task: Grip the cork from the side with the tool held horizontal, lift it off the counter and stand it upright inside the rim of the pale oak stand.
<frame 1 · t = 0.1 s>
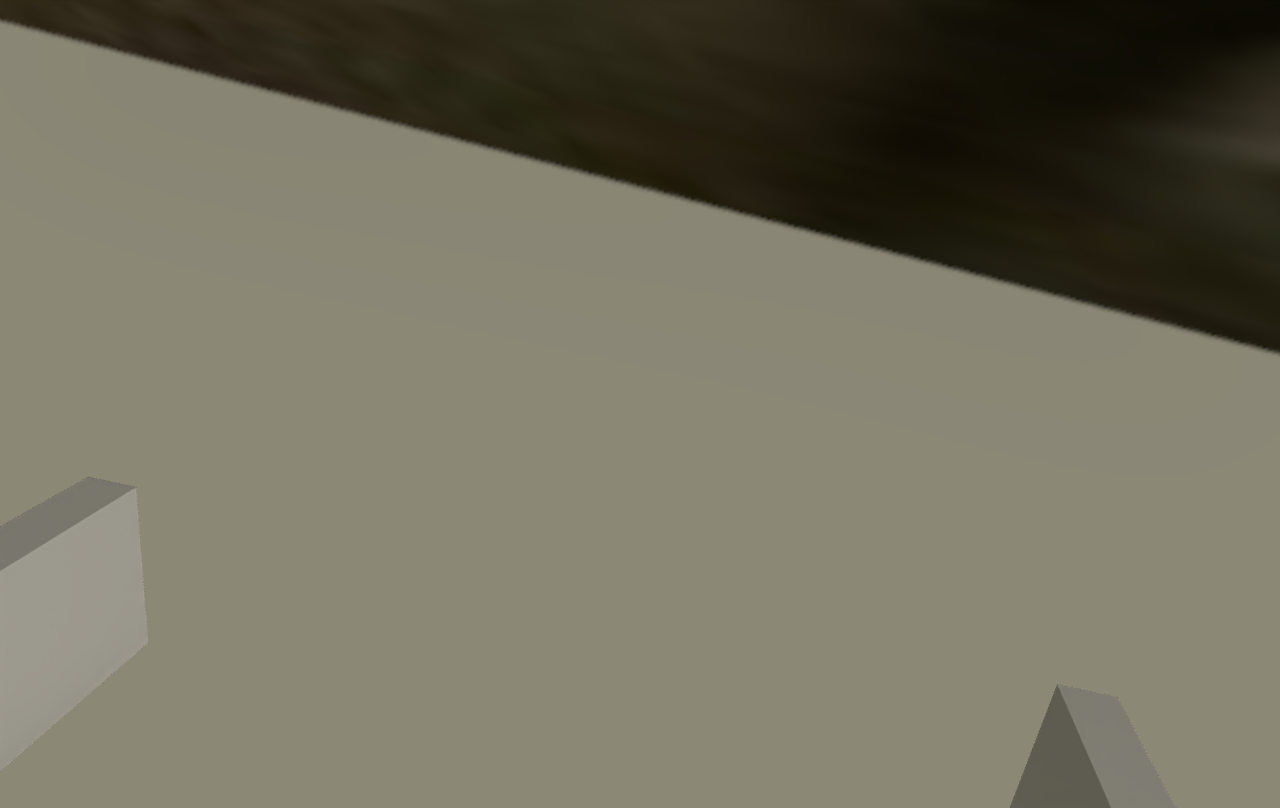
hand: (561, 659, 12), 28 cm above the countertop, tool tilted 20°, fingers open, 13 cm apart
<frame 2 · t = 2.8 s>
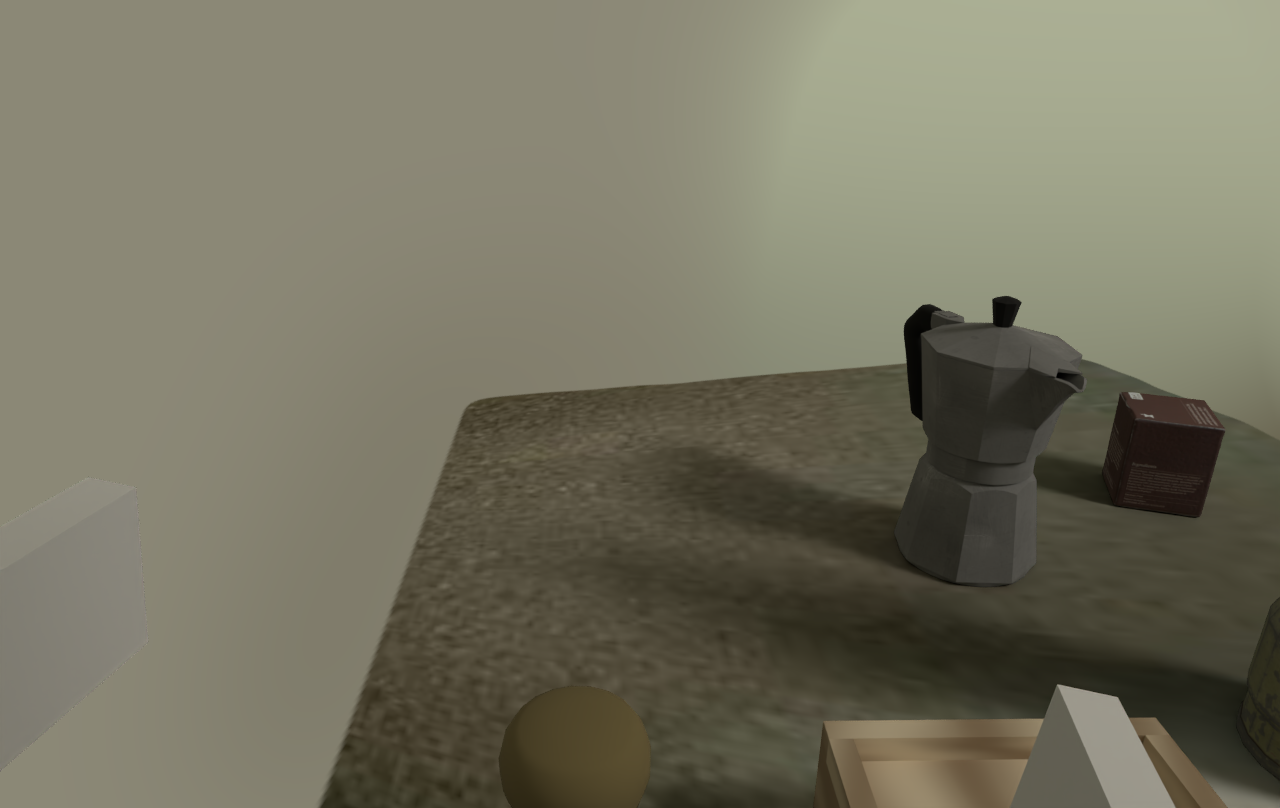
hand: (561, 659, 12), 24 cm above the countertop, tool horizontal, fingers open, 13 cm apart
coffeepot: (951, 545, 62), on the countertop
box: (1147, 497, 69), on the countertop
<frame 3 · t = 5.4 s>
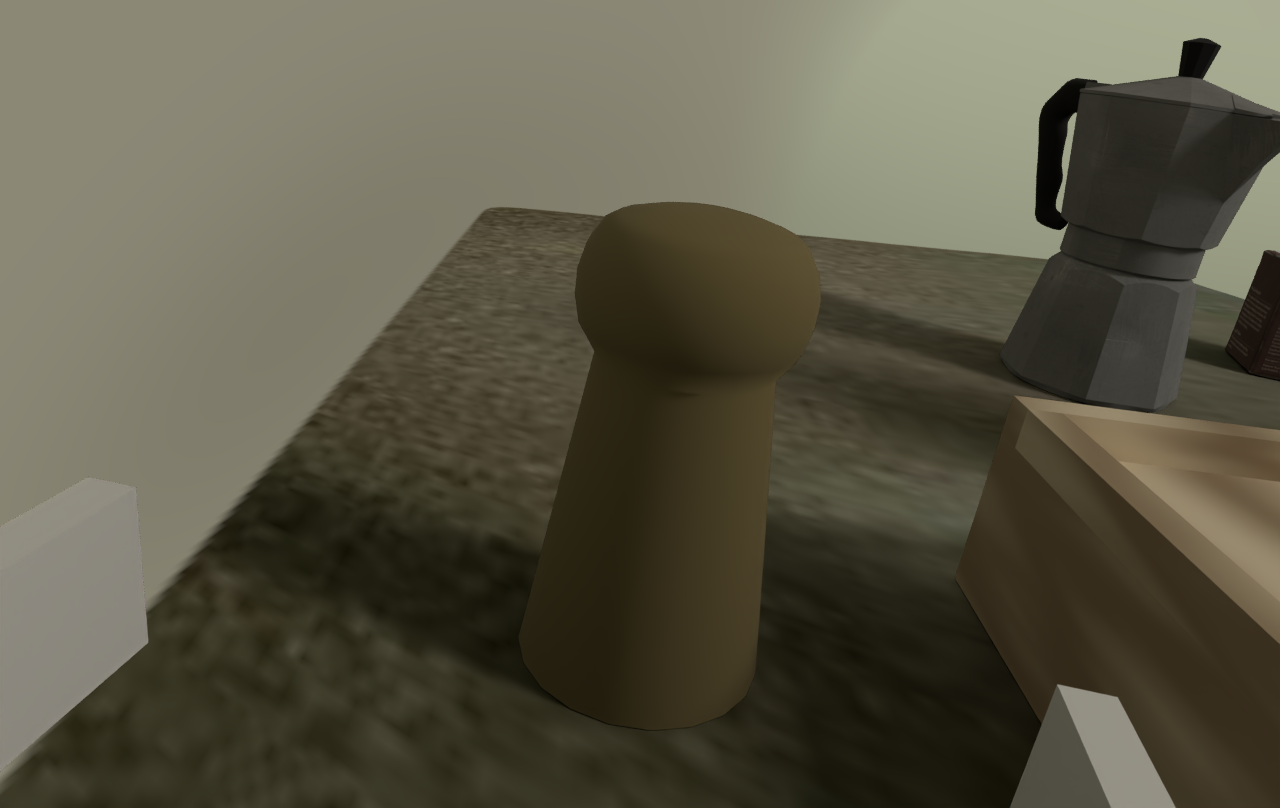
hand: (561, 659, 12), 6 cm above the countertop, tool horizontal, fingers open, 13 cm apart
cork: (636, 650, 22), on the countertop
coffeepot: (1067, 377, 51), on the countertop
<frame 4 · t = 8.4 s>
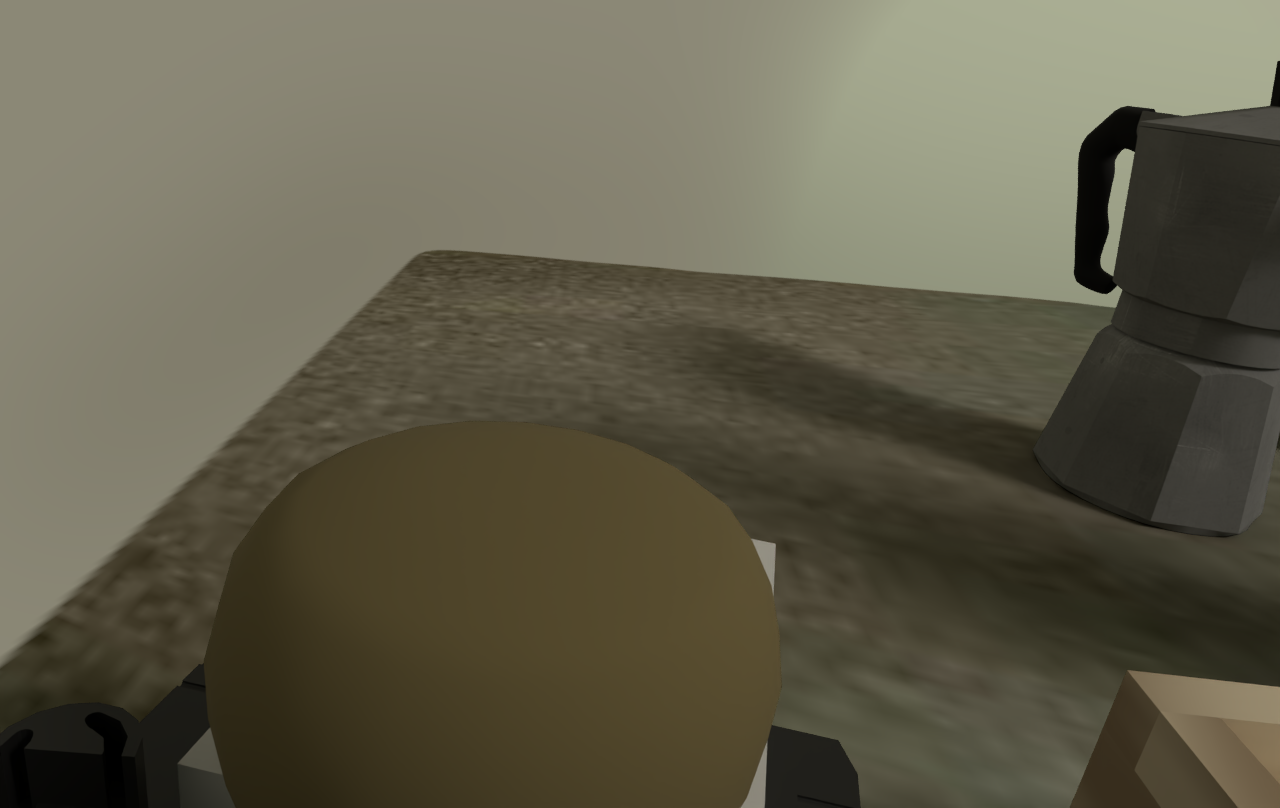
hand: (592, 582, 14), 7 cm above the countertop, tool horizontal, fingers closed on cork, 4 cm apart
coffeepot: (1119, 479, 40), on the countertop
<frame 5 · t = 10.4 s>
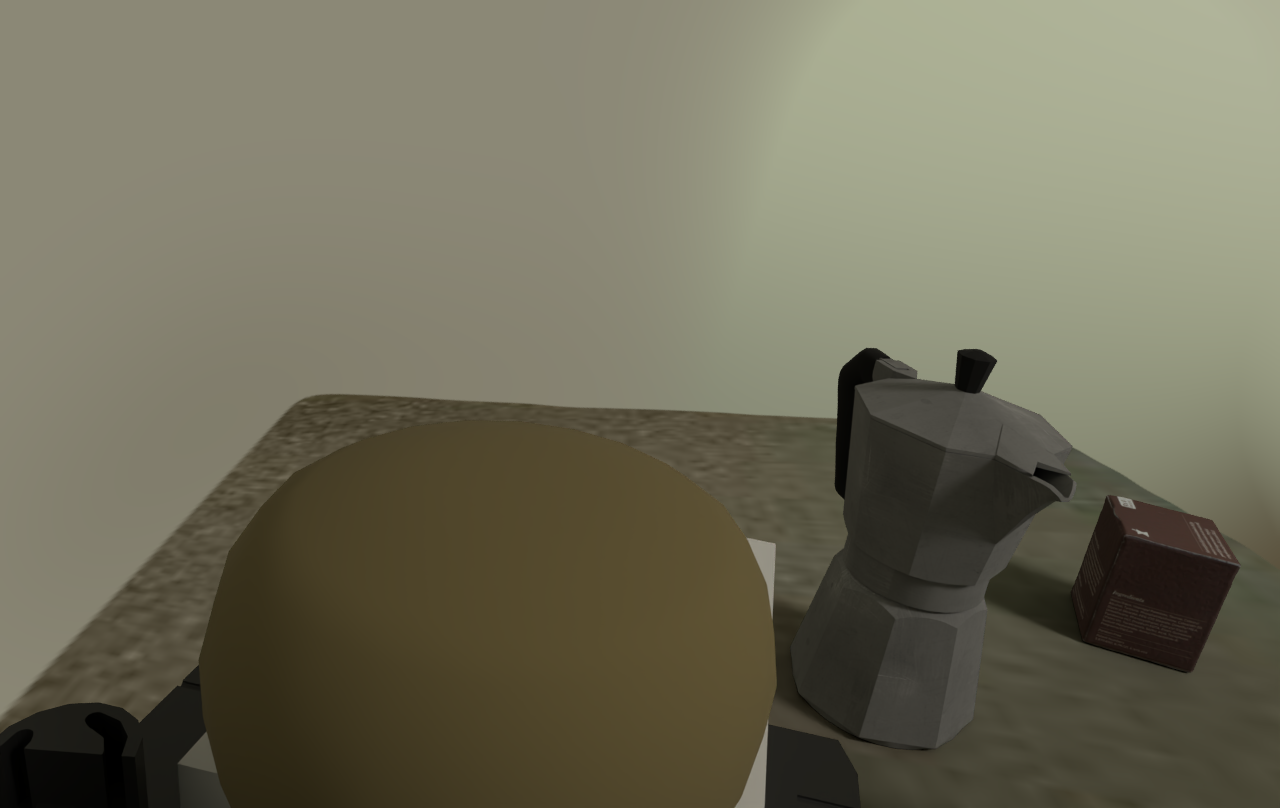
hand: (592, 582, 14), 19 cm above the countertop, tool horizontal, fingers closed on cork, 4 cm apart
coffeepot: (863, 676, 45), on the countertop
box: (1125, 635, 53), on the countertop
when the fingers open (13 cm above the countertop, at t = 12.6 s): cork moves 3 cm, resting on oak stand.
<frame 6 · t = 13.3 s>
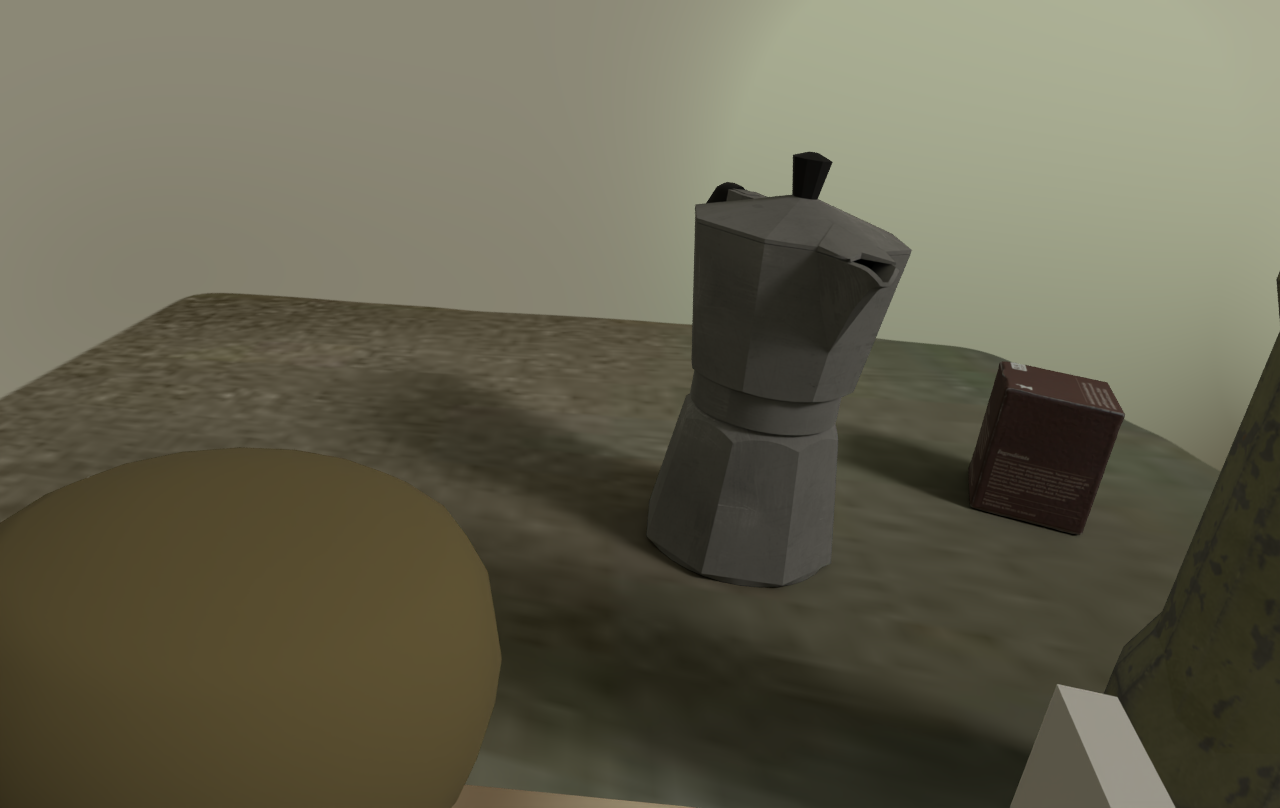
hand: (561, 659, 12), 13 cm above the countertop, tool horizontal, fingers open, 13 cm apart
coffeepot: (725, 528, 43), on the countertop
box: (1019, 505, 51), on the countertop
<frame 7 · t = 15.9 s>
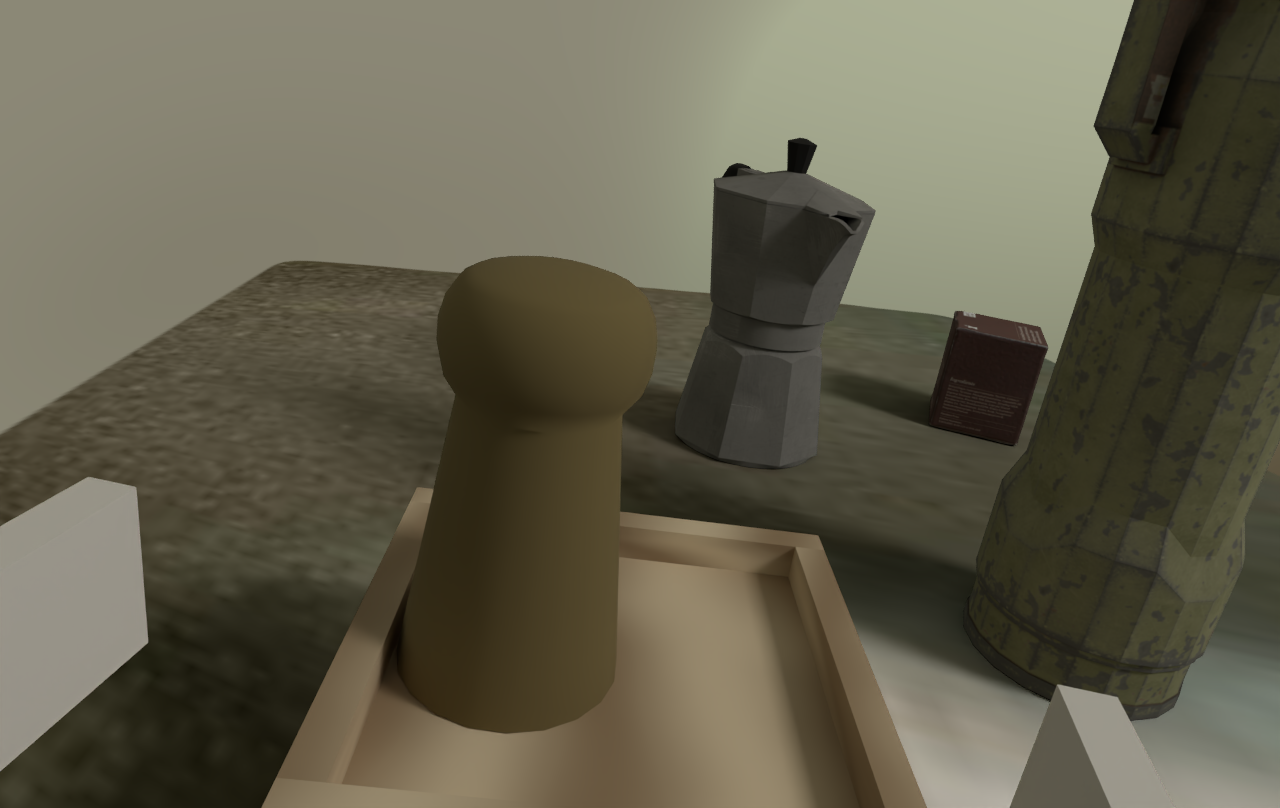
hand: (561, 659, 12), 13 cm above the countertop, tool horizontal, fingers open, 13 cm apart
cork: (508, 659, 24), point 5 cm above the countertop, touching oak stand
coffeepot: (735, 433, 56), on the countertop
thermos: (1063, 653, 38), on the countertop
oak stand: (591, 807, 26), on the countertop
box: (969, 426, 63), on the countertop
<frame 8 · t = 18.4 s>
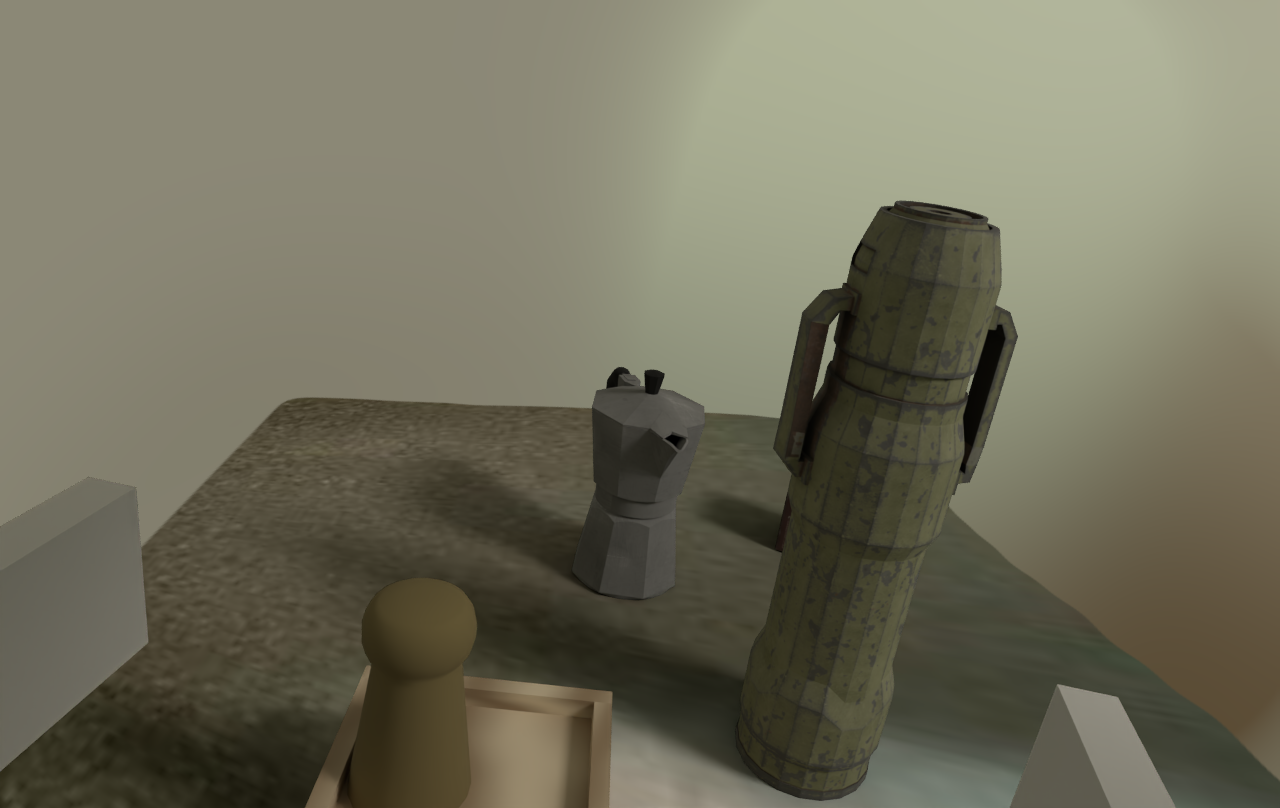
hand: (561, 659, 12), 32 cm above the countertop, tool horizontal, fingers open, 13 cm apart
cork: (409, 783, 44), point 5 cm above the countertop, touching oak stand
coffeepot: (619, 565, 75), on the countertop
thermos: (798, 750, 57), on the countertop
box: (810, 547, 83), on the countertop
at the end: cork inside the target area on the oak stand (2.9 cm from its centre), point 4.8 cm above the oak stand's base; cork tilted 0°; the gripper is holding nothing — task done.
